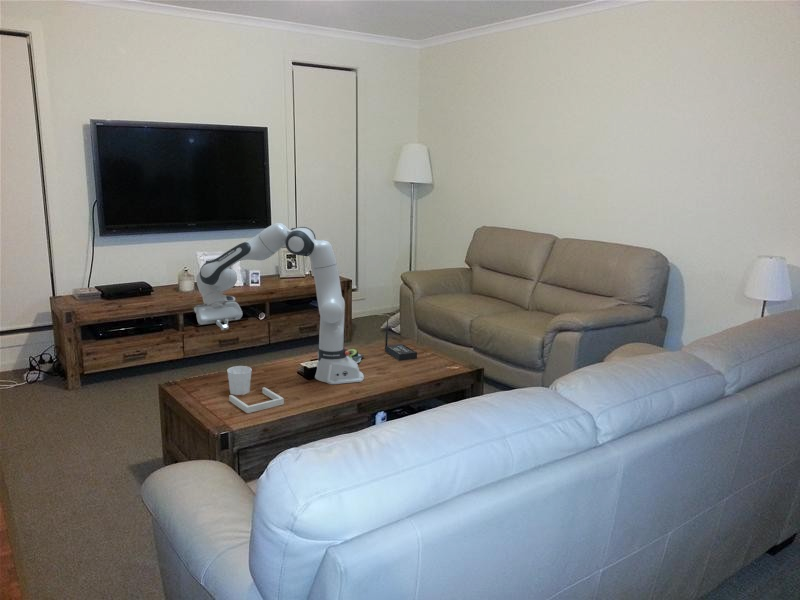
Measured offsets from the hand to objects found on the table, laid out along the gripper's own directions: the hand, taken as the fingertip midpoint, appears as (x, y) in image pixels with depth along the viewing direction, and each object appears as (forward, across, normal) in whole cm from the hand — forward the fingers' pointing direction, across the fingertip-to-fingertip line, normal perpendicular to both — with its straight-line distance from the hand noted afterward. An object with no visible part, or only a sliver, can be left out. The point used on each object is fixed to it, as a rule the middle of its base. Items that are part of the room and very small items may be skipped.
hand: (225, 329), depth 272 cm
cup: (+28, -2, +5) cm, 29 cm away
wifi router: (+27, +90, +7) cm, 95 cm away
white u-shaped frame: (+38, -2, -5) cm, 38 cm away
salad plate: (+22, +61, +12) cm, 66 cm away
